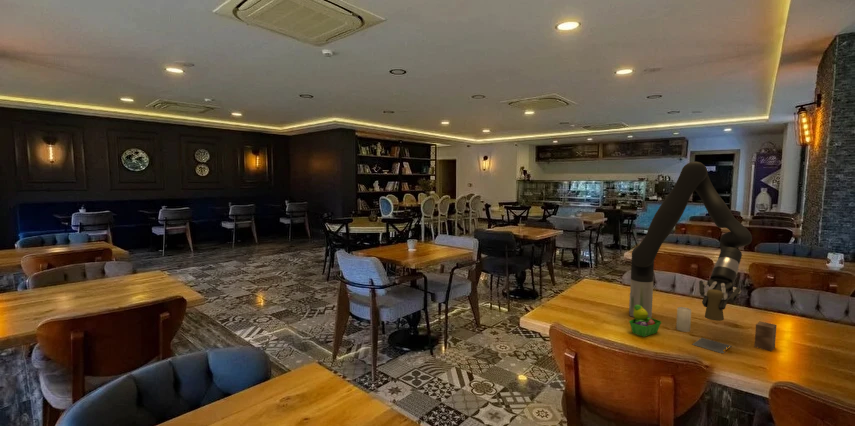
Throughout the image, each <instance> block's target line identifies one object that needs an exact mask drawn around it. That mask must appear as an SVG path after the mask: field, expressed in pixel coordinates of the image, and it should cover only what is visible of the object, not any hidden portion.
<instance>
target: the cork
mask: <svg viewBox="0 0 855 426" xmlns="http://www.w3.org/2000/svg"><path fill="white" fill-rule="evenodd" d="M707 290H708V289H707ZM707 290H706V292H707V297H708V302H707V307H705V313H704V318H706V319H707V320H710V321H717V322H718V321H719V322H721V321H722V322H723V321H724V320H725V317H724V311H723V310H722V311H721V310H720V309H719V306H720V303H721V300H723V292H722V291H720V290H715V289H710V290H708V291H707Z"/></svg>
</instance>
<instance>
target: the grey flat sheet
mask: <svg viewBox="0 0 855 426" xmlns="http://www.w3.org/2000/svg"><path fill="white" fill-rule="evenodd" d="M691 345H693V346H695V347H699V348H702V349H706V350H709V351H712V352H716V353H720V354H722V353H723V354H724V353H725V352H724V351H723V350H724V349H725V350H726V347H727V348H728V347H729V346H730V348H732V345H731V344H727V343H723V342H719V341H717V340H716V341H715V340H713V339H709V338H704V337H701V338H699V339H697V340H696V341H694V342H693V343H692V344H691Z"/></svg>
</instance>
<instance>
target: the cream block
mask: <svg viewBox="0 0 855 426" xmlns="http://www.w3.org/2000/svg"><path fill="white" fill-rule="evenodd" d="M691 320H692V309H690V308H689V307H686V306H685V307H683V306H679V307H677V308H676V324H675V325H676V328H675V329H676V330H677V331H679V332H685V333H686V332H687V333H688V332H689V333H690V332H691V323H692V322H691Z"/></svg>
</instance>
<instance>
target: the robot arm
mask: <svg viewBox="0 0 855 426" xmlns="http://www.w3.org/2000/svg"><path fill="white" fill-rule="evenodd" d="M713 185H714V184H713V183H712V182H711V179H710V177H709V173H708V169H707V167H706V165H705V164H703V163H702V162H700V161H691V162H688V163H686V164H685V165H684V166H683V167H682V169H681V171H680V173H679V176H678V178H677V180H676V182H675V184H674V186H673V187H672V189H671V191H670V192H669V193H668V195H667V196H666V198H665V199H664V200H663V202H662V203H661V204H660V205H659V207H658V209H657V211H656V213H655V214H654V216H653V217H652V220H651V222H650V224H649V226H648V229H647V232H646V233H645V236H644V238H643V239H642V240H641V242H640V243H639V245H636V246H635V247H633V248H632V251H631V261H630V262H631V264H630V265H631V266H630V267H631V268H630V289H629V290H630V293H629V304H628V307H629V308H628V313H629V316H630V317H633V318H635V317H634V315H633V312H634V306H635V305H640V306H642V307H643V308H644V309H645V310H646V311H647V312H648V316H647V317H650V318H653V316H652V315H653V299H654V298H653V296H654V295H653V294H654V272H655V271H654V270H655V269H654V267H655V265H654V264H655V259H656V257H657V255H658V253H659V251H660V248H661V246H662V245H663V243H664V242H665V241H666V239H667V238H668V237H669V236H670V234H671V233H672V232H673V230H674V228H675V227H676V226H677V224H678V222H679V221H680V219H681V218H682V216H683V214H684V212H685V210H686V207H687V205H688V204H689V201H690V199H691V196H692V195H693V193H694V192H696V193H697V195H698V197H699V198H700V200H701V201H702V203H703V206H704V208H705V209H706V212H708V215H709V217H710V218H711V219H712V221H713V223H714V224H715V226H716V227H717V228H719V229H727V230H728V232H726V233H724V234H722V235H721V237H720V239H719V240H720V241H719V245H720V252H719V255H718V257H717V260H716V262H715V263H714V266H713V269H712V272H711V275H710V278H709V279H708V280H707V281H703V280H699V281H698V284H699V288H698V289H699V294H700V296H701V297H703V299H702V302H701V303H702V306H703V307H705V308H706V307H707V302H708V297H707V291H708V290H710V289H715V290H720V291H722V292H723V298H722V299H721V303H720V306H719V309H720V310H721V311H722V310H725V309H726V306H727V303H731V304H733V303H734V302H735V301H736V300H737V299H738V298H739V296H740V295H741V294H742V289H741V287H738V286H737V287H736V286H735V285H734V284H735V280H736V278H737V275H738V273H739V267H740V263H741V260H742V256H743V254H742V251H741V250H740V249H739V248H741V247H745V246H749V245H750V244H751V243H752V241H753V236H752V234H751V232H750V230H749V229H748V228H747V227H746V226H744V224H742V223H741V222H740V221H739V220H738V219H737V218H735V216H734V215H733V212H732V211H731V210H730V208H729V206H728V205H727V204H726V202H725V201H724V199H722V197H721V196H720V194H719V192H717V190H716V189H715V187H714V186H713ZM707 286H708V288H707V289H706V287H707ZM705 289H706V291H705ZM731 291H732V293H731V294H730V296H729V297H728V293H730V292H731Z"/></svg>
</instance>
